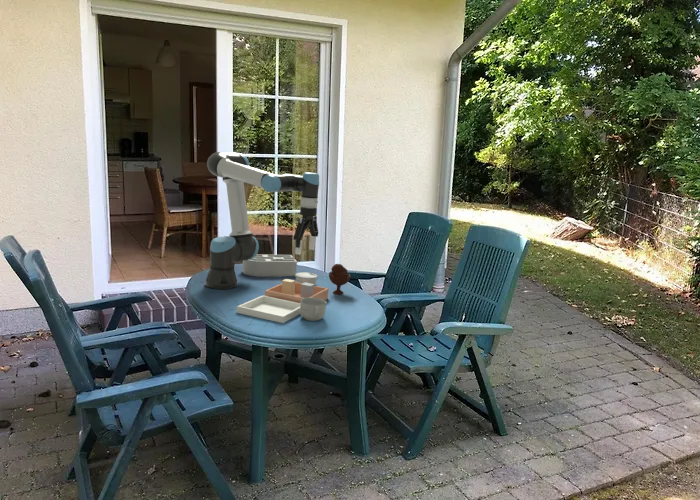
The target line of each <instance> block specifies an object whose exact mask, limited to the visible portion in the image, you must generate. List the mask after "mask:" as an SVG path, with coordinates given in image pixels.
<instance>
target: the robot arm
mask: <svg viewBox="0 0 700 500" xmlns="http://www.w3.org/2000/svg"><path fill="white" fill-rule="evenodd" d="M206 166H207V169H208V171H209V172H210V173H211V174H212V175H213V176H216V177H220V178H222V182H224V183H225V185H226V194H227V201H228V208H229V209H228V210H229V221H230V225H231V226H230V227H231V232H230V234H229V235H228V236H226V235H225V236H217V237H214V238H213V239H212V240H211V241H210V247H209V250H210V251H209V270H208V274H207V276H206V279H205V286H206V287H208V288H209V289H214V290H215V289H216V290H230V289H234V288H237V286H238V278H237V275H236V272H235V263H238V262H243V261H244V260H249V259H252V258H254V257H255V256H256V254H258V252H259V249H260V246H259V240H258V239H257V238H256V237H255V236H254V235H253V232H252V231H251V230H250V226H249V219H248V218H249V217H248V210H247V209H248V208H247V201H246V200H247V199H246V191H245V183H246V184H249V185H252V186H255V187H257V188H262V189H263V190H264V191H265V192H267V193H278V192H297V193H301V198H300V209H299V210H300V211H299V215H301V216H302V218H301V217H299V218H298V220H297V225H296V229H295V232H294V236H293V240H294V241H295V248H294V249H295V250H294V254H295V255H299V256H301V255H302V247H303V240H302V239H303V237H304V235H305V233H306V230H307V229H308V230H309V234H310V235H309V242H308V243H309V244H308V250H309V251H311V250H312V251H315V250H316V249H315V248H316V238H317V237H318V236H319V227H318V221H317V220H318V219H317V210H318V209H317V207H318V203H319V199H318V198H319V196H318V195H319V188H320V175H319V173H317V172H311V171H310V172H309V171H305V172H303V173H302V175H298V174H292V173H283V174H275V173H272V172H269V171H265V170H262V169H258V168H257V167H256V168H255V167H253V166H250V161H249V159H248V157H247V156H246V155H244V154H243V153H240V152H235V151H234V152H230V151H227V152H225V151H224V152H223V151H216V152H213V153H212V154H211V155H210V156H209V157H208V158H207V161H206Z"/></svg>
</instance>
